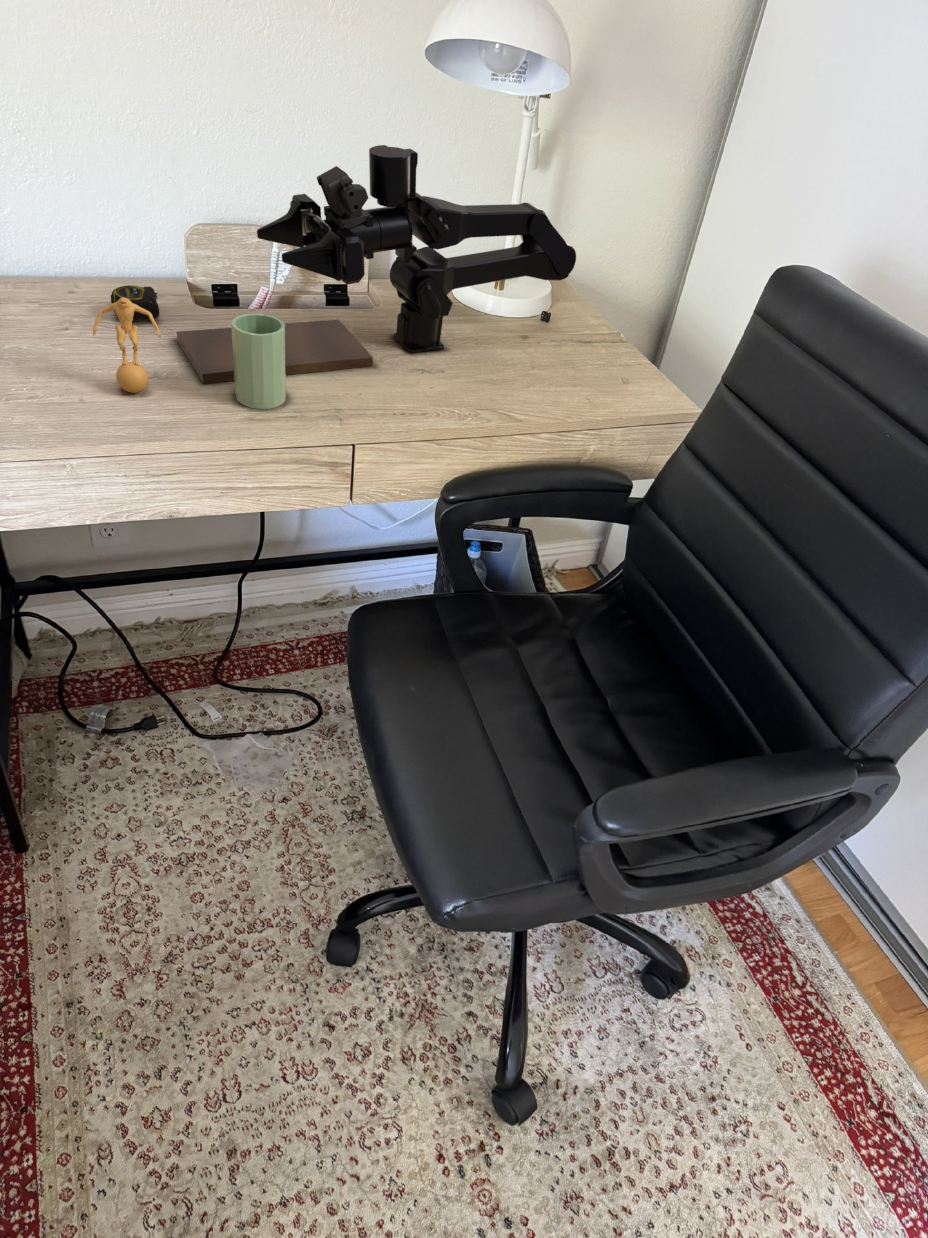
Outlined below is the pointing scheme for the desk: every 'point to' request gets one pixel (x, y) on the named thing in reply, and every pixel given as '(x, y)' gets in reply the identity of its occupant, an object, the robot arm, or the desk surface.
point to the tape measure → (138, 299)
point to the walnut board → (304, 350)
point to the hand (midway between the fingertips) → (269, 245)
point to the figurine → (128, 373)
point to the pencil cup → (259, 360)
